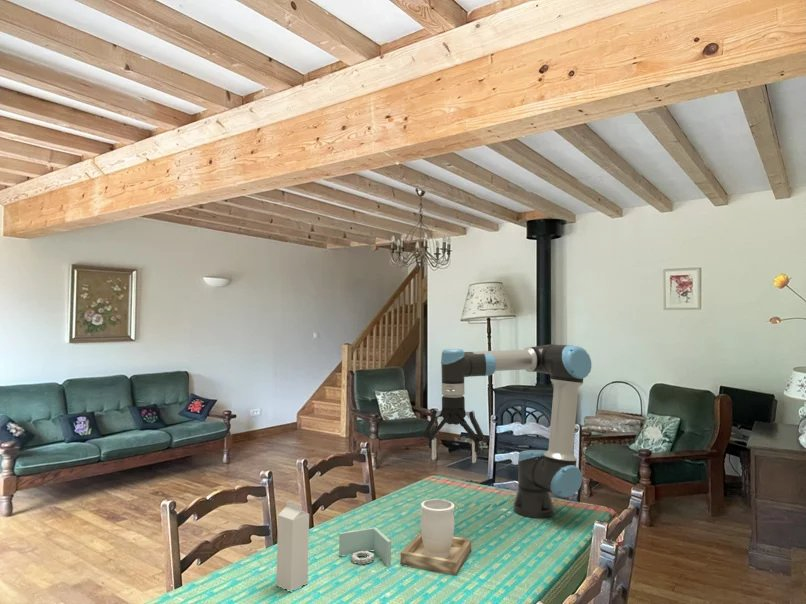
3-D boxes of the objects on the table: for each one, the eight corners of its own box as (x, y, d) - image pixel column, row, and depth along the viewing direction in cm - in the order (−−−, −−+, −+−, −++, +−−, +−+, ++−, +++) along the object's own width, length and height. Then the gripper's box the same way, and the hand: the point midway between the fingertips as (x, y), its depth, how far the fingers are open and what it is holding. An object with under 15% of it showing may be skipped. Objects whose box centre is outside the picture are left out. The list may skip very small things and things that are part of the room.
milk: (292, 578, 147) (295, 497, 148) (307, 584, 143) (310, 501, 144) (275, 586, 142) (278, 502, 143) (290, 593, 138) (293, 507, 139)
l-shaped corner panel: (338, 557, 161) (339, 532, 162) (375, 551, 166) (375, 527, 167) (352, 574, 150) (352, 548, 151) (390, 567, 155) (391, 541, 156)
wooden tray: (471, 550, 166) (471, 539, 167) (456, 575, 150) (456, 562, 150) (420, 542, 173) (420, 531, 173) (400, 564, 156) (400, 552, 156)
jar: (451, 563, 155) (452, 511, 156) (417, 559, 157) (418, 508, 158) (455, 548, 165) (456, 500, 166) (423, 545, 168) (423, 497, 168)
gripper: (413, 395, 176) (414, 460, 175) (488, 398, 167) (489, 466, 167) (420, 392, 183) (421, 454, 182) (492, 395, 174) (493, 460, 174)
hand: (454, 460), depth 174 cm, fingers open, 13 cm apart
